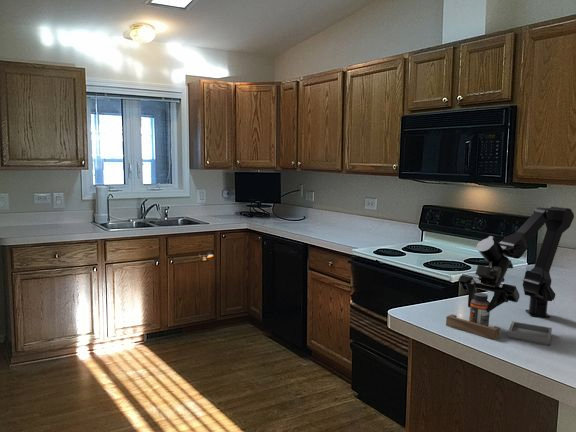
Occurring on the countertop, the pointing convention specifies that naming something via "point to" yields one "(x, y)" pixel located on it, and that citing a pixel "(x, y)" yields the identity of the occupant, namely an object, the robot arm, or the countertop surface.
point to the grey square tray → (530, 333)
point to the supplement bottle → (479, 309)
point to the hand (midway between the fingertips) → (477, 309)
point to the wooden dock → (473, 327)
